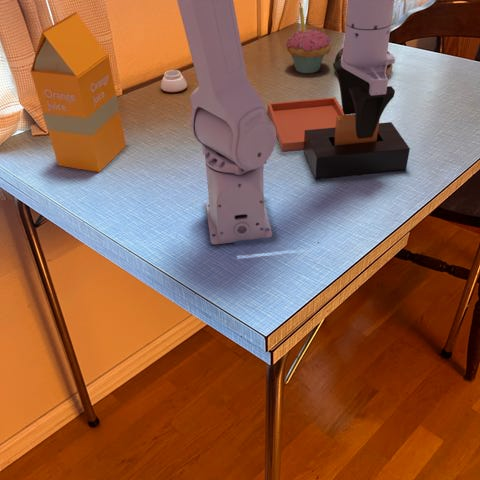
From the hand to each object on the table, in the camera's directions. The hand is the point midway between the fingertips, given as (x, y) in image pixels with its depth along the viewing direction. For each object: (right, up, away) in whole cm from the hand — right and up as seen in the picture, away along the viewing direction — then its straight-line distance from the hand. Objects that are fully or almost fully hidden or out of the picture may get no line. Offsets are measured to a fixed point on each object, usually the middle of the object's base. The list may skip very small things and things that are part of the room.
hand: (357, 124), depth 81 cm
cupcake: (-3, +22, +32) cm, 39 cm away
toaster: (0, -4, +4) cm, 6 cm away
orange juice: (-41, -2, +10) cm, 42 cm away
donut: (+7, +21, +30) cm, 37 cm away
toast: (0, -4, +4) cm, 6 cm away
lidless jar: (-30, +16, +28) cm, 44 cm away
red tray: (-5, +4, +13) cm, 15 cm away
